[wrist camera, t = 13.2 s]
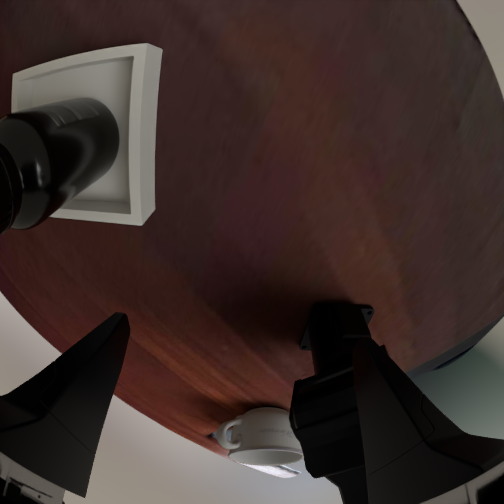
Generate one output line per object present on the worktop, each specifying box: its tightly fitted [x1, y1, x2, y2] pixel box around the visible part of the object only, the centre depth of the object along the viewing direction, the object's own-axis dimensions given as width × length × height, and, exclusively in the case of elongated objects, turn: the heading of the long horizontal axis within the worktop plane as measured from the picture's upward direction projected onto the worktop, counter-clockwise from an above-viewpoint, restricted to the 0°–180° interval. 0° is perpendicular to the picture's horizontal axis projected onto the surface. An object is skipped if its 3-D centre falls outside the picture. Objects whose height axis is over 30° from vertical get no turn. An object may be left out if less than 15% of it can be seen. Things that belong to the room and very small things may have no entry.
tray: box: [12, 43, 163, 226], centre depth 17 cm, size 13×13×3 cm
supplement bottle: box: [0, 98, 120, 234], centre depth 12 cm, size 7×7×12 cm
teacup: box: [216, 407, 304, 466], centre depth 35 cm, size 14×11×8 cm
